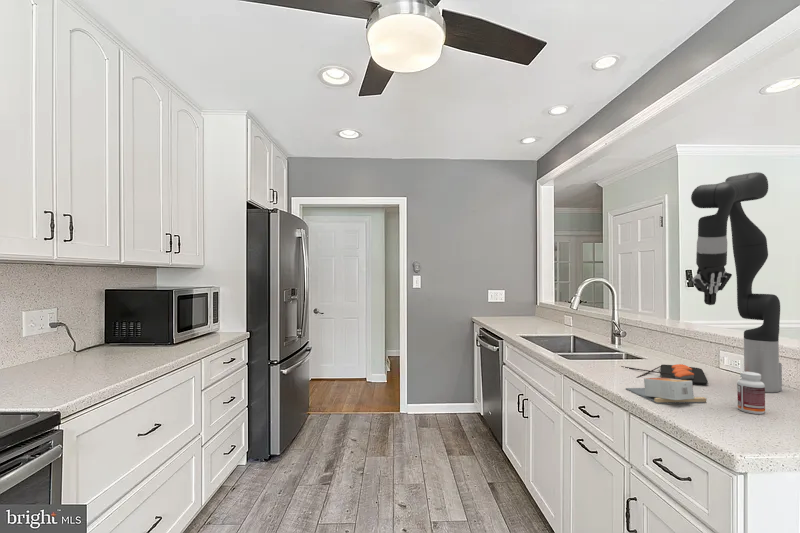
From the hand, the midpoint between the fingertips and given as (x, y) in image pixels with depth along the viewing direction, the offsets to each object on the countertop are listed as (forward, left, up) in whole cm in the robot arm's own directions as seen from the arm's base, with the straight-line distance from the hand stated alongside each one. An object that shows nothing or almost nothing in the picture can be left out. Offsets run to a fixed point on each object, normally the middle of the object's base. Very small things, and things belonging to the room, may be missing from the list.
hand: (709, 304), depth 130 cm
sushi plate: (-10, -37, -31) cm, 49 cm away
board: (+10, -7, -30) cm, 33 cm away
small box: (+11, +4, -26) cm, 28 cm away
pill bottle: (-5, +9, -31) cm, 32 cm away
